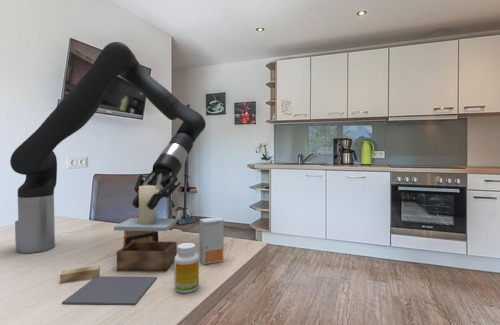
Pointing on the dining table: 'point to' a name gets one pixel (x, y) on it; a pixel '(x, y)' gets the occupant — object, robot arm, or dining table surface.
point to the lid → (146, 215)
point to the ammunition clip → (139, 234)
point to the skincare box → (211, 240)
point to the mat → (111, 291)
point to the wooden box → (146, 256)
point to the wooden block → (79, 274)
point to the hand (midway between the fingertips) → (142, 206)
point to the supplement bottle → (186, 268)
